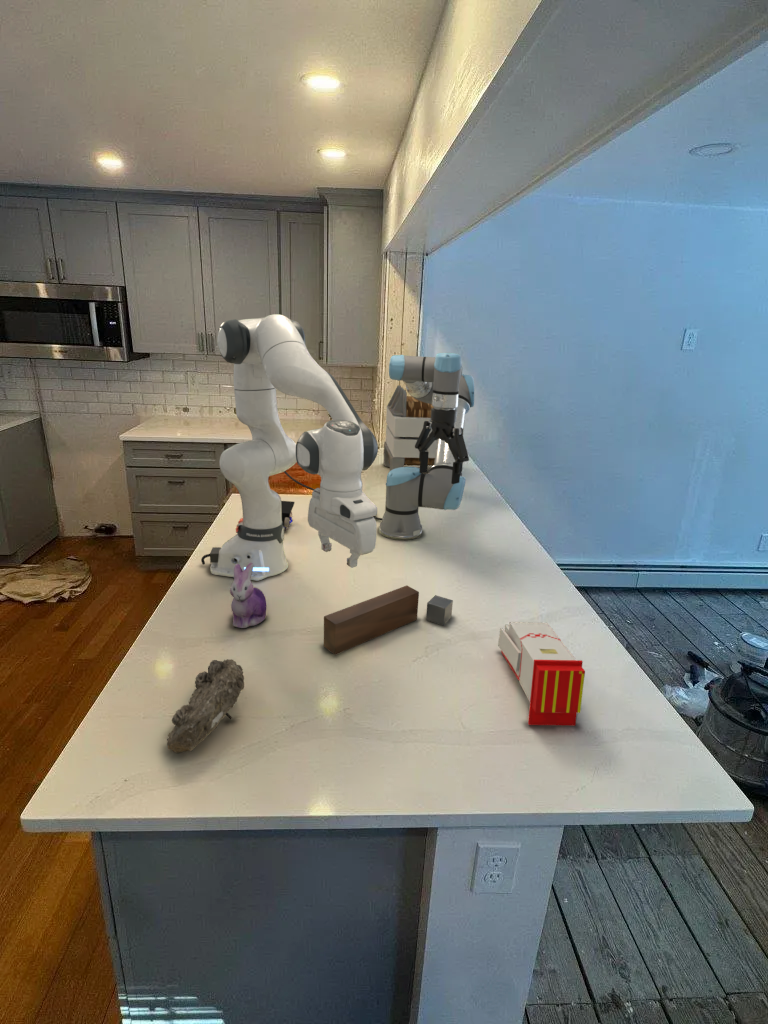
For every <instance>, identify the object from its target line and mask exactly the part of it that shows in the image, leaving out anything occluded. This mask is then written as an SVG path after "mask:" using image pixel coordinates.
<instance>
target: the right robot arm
mask: <svg viewBox="0 0 768 1024" xmlns="http://www.w3.org/2000/svg"><path fill="white" fill-rule="evenodd" d="M388 376H389V379H390V380H392V381H398V382H400V381H402V382H403V384H404V385H405V390H406V393H407V394H409V396H412V397H414V398H415V399H417V400H419V401H421V402H424V403H428V404H432V406H433V407H434V408H432V409H431V420H432V421H431V420H430V421H424V425H423V429H422V431H421V433H420V436H419V438H418V440H417V442H416V444H415V448H416V449H418V450H419V452H420V453H419V461H420V466H419V467H417V466H404V467H400V468H396V469H393V470H391V471H390V470H389V472H388V473H387V475H386V482H385V504H384V505H385V507H384V508H385V509H384V513H383V515H382V517H378V516H377V515H375V516H373V517H374V519H375V521H381V522H379V526H378V533H379V534H380V535H381V536H382V537H385V538H387V539H389V540H395V541H410V540H415V539H418V538H420V537H421V536H422V535H423V525H422V524H421V518H420V515H419V508H428V509H437V510H443V511H448V510H449V511H456V510H458V509H459V508H460V506H461V503H462V500H463V496H464V493H465V492H464V491H465V486H466V477H465V476H463V465H464V463H465V462H469V461H470V457H469V453H468V449H467V445H466V442H465V438H464V432H463V424H464V425H465V421H464V420H465V416H466V414H467V413H469V411H470V409H471V408H474V407H475V380H474V377H473V375H471V374H464V373H463V365H462V356H461V354H459V353H452V352H439V353H437V354H435V356H418V355H404V354H394V355H392V356H391V357H390V358H389V363H388ZM431 428H432V432H431V433H430V431H431ZM429 433H430V434H429ZM428 435H429V437H428ZM427 437H428V438H427ZM436 439H437V446H436V453H435V461H434V466H432V465H431V466H429V465H428V454H429V452H427V451H428V448H429V447H430V446H431V444H432V443H433V442H434V441H435V440H436ZM428 467H429V468H428ZM283 473H284V474H285V475H286V476H287V477H288V478H289V479H290V480H291V481H293V482H294V483H296V484H297V485H300V486H301V487H304V488H306V489H308V490H311V491H312V492H313V491H314V489H315V488H313V487H310V486H309V485H306V484H303V483H302V482H300V481H299V480H296V479H295V478H293V477H292V476H291V475H290V474H289V473H288V472H287V470H286V471H284V472H283Z"/></svg>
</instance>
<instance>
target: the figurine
mask: <svg viewBox="0 0 768 1024" xmlns="http://www.w3.org/2000/svg"><path fill="white" fill-rule="evenodd" d="M252 572H253V563H249V564H248V565H247V567H246V568H245V569H244V571H242V569H241V567H240V565H239V564H236V565H235V567H234V577H233V581H232V583H231V584H230V587H229V594H230V596H231V597H232V600H231V603H230V608H231V613H232V626H233V627H236V628H239V629H240V628H241V629H246V628H249V627H254V626H256V625H259V624H260V623H262V622H263V621H264V620H265V619H266V617H267V609H268V607H267V599H266V596H265V594H264V592H263V591H262V590H261V589H260V588H258V587H256V586H255V587H254V584H253V583H252V580H250V579H251V575H252Z"/></svg>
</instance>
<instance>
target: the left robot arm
mask: <svg viewBox="0 0 768 1024" xmlns="http://www.w3.org/2000/svg"><path fill="white" fill-rule="evenodd" d="M217 330H218V331H217V338H216V340H217V341H216V342H217V343H216V344H217V348H218V350H219V353H220V356H221V358H222V359H223V360H224V361H225V362H227V363H229V364H232V365H233V392H234V403H235V414H236V417H237V420H238V421H239V422H240V423H242V424H243V425H245V426H247V427H248V430H249V431H250V433H251V440H248V441H243V442H242V441H241V442H238V443H235V444H234V445H232V446H230V447H228V448H227V449H224V450H223V451H222V452H221V454H220V455H219V456H220V457H219V461H218V462H219V470H220V473H221V474H222V476H223V478H225V480H227V482H230V483H231V484H233V486H234V487H235V488H236V490H237V491H238V493H239V497H240V500H241V509H242V510H241V511H242V517H241V518H240V519H239V520H238V522H237V525H236V528H235V533H236V534H234V535H233V536H232V537H230V538H229V539H228V540H226V541H225V542H224V543H223V544H222V546H221V547H216V546H215V547H212V548H211V550H210V552H209V553H208V554H204V555H202V557H201V558H200V559H201V565H203V566H204V565H206V562H205V559H206V558H209V562H210V569H209V570H210V573H211V574H212V575H214V576H223V577H229V578H234V567H235V565H236V564H239V565H240V567H241V569H242V571H244V569H245V568H246V567H247V565H248V564H249V563H253V572H252V575H251V579H250V580H251V581H257V582H258V581H262V580H263V579H266V578H269V577H273V576H277V575H279V574H282V573H284V572H285V571H286V570H287V569H288V568H289V563H288V560H287V556H286V553H285V546H284V540H285V539H284V538H285V532H284V529H285V528H284V527H283V521H282V508H281V501H282V497H281V496H280V494H279V493H278V492H276V491H275V490H273V489H271V487H270V483H269V477H271V476H274V475H277V474H278V475H279V474H282V473H284V471H286V472H287V471H288V470H290V468H292V467H293V466H295V465H296V464H297V465H298V467H300V468H301V469H302V470H303V471H304V472H306V473H308V474H310V475H318V476H319V477H320V482H319V483H320V484H319V487H316V488H313V489H314V491H313V490H312V492H311V498H310V499H309V502H308V503H309V504H308V509H307V511H308V512H307V522H308V525H309V527H310V528H312V529H314V530H315V531H318V532H317V535H318V538H319V540H320V544H321V545H320V547H321V548H320V549H321V550H322V551H323V552H325V553H328V552H331V551H332V549H333V548H332V542H331V541H330V539H332V540H333V541H335V542H336V543H338V544H340V545H341V546H344V547H345V548H347V549H348V550H349V554H351V555H350V557H347V558H346V566H347V567H349V568H357V566H358V559H360V557H361V556H364V555H367V554H371V553H372V552H373V551H375V549H376V545H377V520H376V519H375V518H374V517H373V516H377V515H378V506H377V505H376V504H375V503H374V502H373V501H372V500H371V498H369V497H368V496H367V494H366V493H365V491H363V481H362V472H363V471H364V472H365V471H366V470H368V469H369V468H370V467H371V466H372V465H373V463H374V462H375V460H376V458H377V456H378V453H379V452H378V451H379V444H378V441H377V438H376V436H375V435H374V433H373V432H372V431H371V429H370V428H369V427H368V426H367V425H366V423H364V421H363V420H362V418H361V417H360V416H359V414H358V412H357V411H356V409H355V408H354V406H353V404H352V403H351V401H350V400H349V398H348V396H347V395H346V393H345V391H344V390H343V388H342V387H341V386H340V384H339V382H338V380H336V378H335V377H334V376H333V375H332V374H331V373H330V372H328V371H327V370H325V369H324V368H322V366H321V365H319V364H318V363H317V362H316V360H315V359H314V358H313V356H312V355H311V353H310V352H309V350H308V347H307V345H306V335H305V331H304V328H303V326H302V325H301V324H300V322H298V321H297V320H294V319H291V318H288V317H287V316H286V315H283V314H277V313H273V314H269V315H266V316H264V317H258V318H245V319H230V320H226V321H223V322H221V324H220V326H219V328H218V329H217ZM277 391H278V392H281V393H283V394H285V395H288V396H290V397H291V396H292V397H296V398H301V399H305V400H308V401H310V402H313V403H316V404H318V405H320V406H322V408H324V409H325V410H326V411H327V413H328V415H329V416H330V418H331V420H329V421H326V422H325V423H324V425H323V426H322V427H320V428H315V429H311V430H307V431H306V430H305V431H303V432H302V433H301V435H300V436H299V437H298V439H297V441H296V442H295V441H294V440H293V439H292V438H291V437H290V436H289V435H288V434H287V433H286V432H285V430H284V427H283V426H282V423H281V419H280V415H279V410H278V409H279V408H278V400H277V399H278V398H277Z"/></svg>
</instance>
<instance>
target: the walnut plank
mask: <svg viewBox="0 0 768 1024" xmlns="http://www.w3.org/2000/svg"><path fill="white" fill-rule="evenodd" d="M419 597H420V592H419V591H418V590H417V589H416V588H415V589H414V588H413V587H411V586H410V585H404V586H401V587H398V588H396V589H393V590H390V591H388V592H385V593H382V594H380V595H377V596H374V597H371V598H370V599H366V600H364V601H361V602H357V603H356V604H353V605H350V606H347V607H345V608H343V609H340V610H337V611H334V612H331V613H330V614H326V615H324V616H323V647H324V648H325V649H326V650H328V651H329V652H330V653H331V654H332V655H334V656H336V655H338V654H341V653H344V652H346V651H348V650H351V649H353V648H355V647H357V646H359V645H362V644H364V643H366V642H369V641H371V640H373V639H376V638H378V637H380V636H383V635H385V634H387V633H390V632H392V631H394V630H396V629H399V628H401V627H403V626H406V625H408V624H411V623H413V622H415V621H417V620H418V612H419Z"/></svg>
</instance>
